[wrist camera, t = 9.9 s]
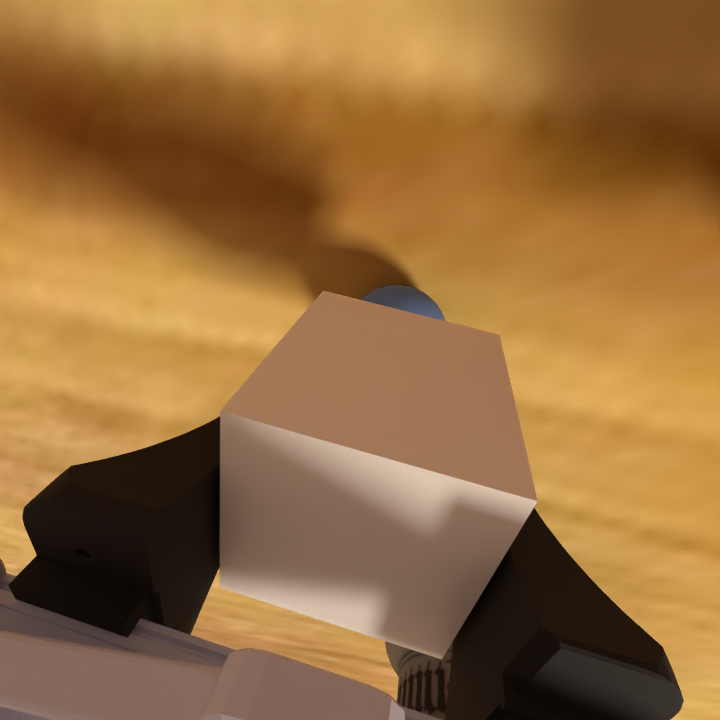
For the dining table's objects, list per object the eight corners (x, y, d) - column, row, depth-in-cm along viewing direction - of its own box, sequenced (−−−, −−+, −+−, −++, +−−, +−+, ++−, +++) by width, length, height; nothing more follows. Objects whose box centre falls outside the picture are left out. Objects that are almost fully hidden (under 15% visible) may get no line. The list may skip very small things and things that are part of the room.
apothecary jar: (402, 508, 30) (345, 911, 14) (576, 542, 28) (720, 1046, 13) (390, 599, 36) (341, 950, 21) (531, 632, 34) (593, 1045, 19)
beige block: (499, 334, 13) (537, 501, 7) (446, 465, 16) (441, 659, 10) (323, 290, 14) (220, 410, 8) (303, 425, 17) (219, 587, 11)
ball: (403, 422, 20) (419, 362, 24) (464, 360, 17) (471, 301, 20) (315, 372, 19) (346, 318, 23) (361, 297, 16) (388, 249, 20)
